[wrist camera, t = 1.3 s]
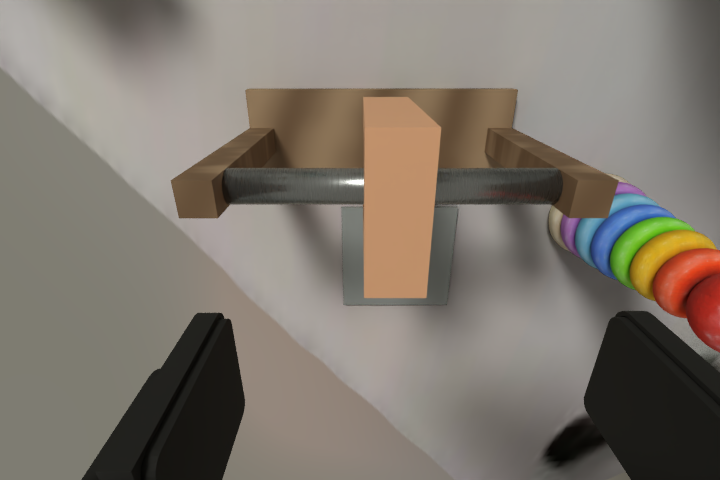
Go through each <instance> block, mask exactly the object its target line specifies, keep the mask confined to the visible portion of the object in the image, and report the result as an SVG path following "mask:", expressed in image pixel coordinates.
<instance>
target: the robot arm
mask: <svg viewBox="0 0 720 480" xmlns="http://www.w3.org/2000/svg"><path fill="white" fill-rule="evenodd" d="M584 405H585V408H586V411H587V413H588V414H589V416H590V417H591V419H592V420H593V422H594V424H595V425H596V427H597V428H598V430H599V431H600V433H601V434H602V436H603V437H604V439H605V440H606V442H607V444H608V445H609V447H610V448H611V450H612V451H613V453H614V454H615V456H616V457H617V459H618V460H619V462H620V463H621V465H622V467H623V468H624V470H625V471H626V473H627V474H628V476H629V477H630V479H631V480H720V373H719V372H718V371H717V370H716V369H715V368H714V367H712V366H711V365H710V364H709V363H708V362H707V361H706V360H704V359H703V358H702V357H701V356H700V355H699V354H697V353H696V352H695V351H694V350H693V349H692V348H690V347H689V346H688V345H687V344H686V343H685V342H684V341H682V340H681V339H680V338H679V337H678V336H677V335H675V334H674V333H673V332H672V331H671V330H670V329H668V328H667V327H666V326H665V325H664V324H663V323H662V322H660V321H659V320H658V319H657V318H656V317H655V316H653V315H652V314H651V313H649V312H646V311H621V312H619V313H617V314H616V316H615V317H613V318H611V319H610V321H609V323H608V326H607V329H606V332H605V335H604V338H603V341H602V344H601V347H600V350H599V353H598V357H597V360H596V363H595V366H594V369H593V372H592V375H591V378H590V381H589V384H588V387H587V390H586V393H585V396H584ZM244 406H245V399H244V392H243V386H242V380H241V375H240V369H239V363H238V357H237V352H236V346H235V341H234V334H233V329H232V324H231V320H230V319H224V316H223V314H222V313H197V314H196V315H195V316H194V317H193V319H192V321H191V322H190V324H189V325H188V327H187V329H186V330H185V331H184V333H183V335H182V336H181V338H180V339H179V341H178V342H177V344H176V346H175V347H174V349H173V350H172V352H171V353H170V355H169V357H168V358H167V360H166V361H165V363H164V365H163V366H162V368H161V369H157V370H155V371H154V372H153V373H152V374H151V375H150V376H149V378H148V380H147V381H146V383H145V384H144V385H143V387H142V389H141V390H140V392H139V393H138V395H137V396H136V398H135V399H134V401H133V402H132V404H131V406H130V407H129V408H128V410H127V411H126V413H125V414H124V416H123V417H122V419H121V421H120V422H119V424H118V425H117V427H116V428H115V430H114V431H113V433H112V434H111V436H110V437H109V439H108V440H107V442H106V443H105V445H104V446H103V448H102V449H101V451H100V453H99V454H98V456H97V457H96V459H95V460H94V462H93V463H92V465H91V466H90V468H89V469H88V471H87V472H86V474H85V475H84V477H83V478H82V480H222V478H223V475H224V472H225V469H226V466H227V462H228V459H229V456H230V454H231V451H232V447H233V444H234V441H235V438H236V435H237V432H238V429H239V425H240V423H241V420H242V416H243V413H244Z"/></svg>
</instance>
